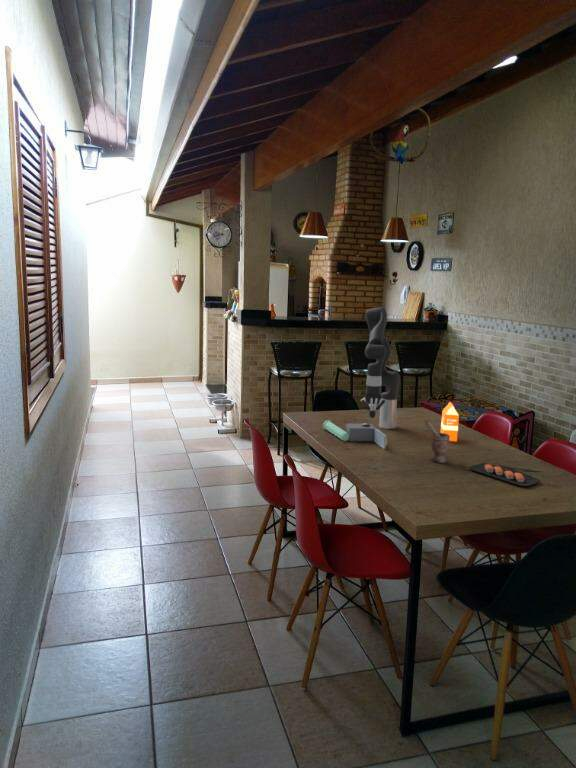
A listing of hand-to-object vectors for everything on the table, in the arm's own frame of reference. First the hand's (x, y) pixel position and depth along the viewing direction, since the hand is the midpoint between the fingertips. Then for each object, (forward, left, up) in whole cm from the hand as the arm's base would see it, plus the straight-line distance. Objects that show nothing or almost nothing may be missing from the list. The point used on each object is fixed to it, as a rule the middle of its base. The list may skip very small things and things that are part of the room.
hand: (371, 417), depth 291 cm
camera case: (+2, -16, -16) cm, 22 cm away
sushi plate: (-57, +40, -16) cm, 71 cm away
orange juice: (-48, -17, -16) cm, 54 cm away
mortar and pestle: (-26, +22, -16) cm, 38 cm away
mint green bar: (+13, -22, -16) cm, 30 cm away
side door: (-6, -3, -15) cm, 17 cm away
